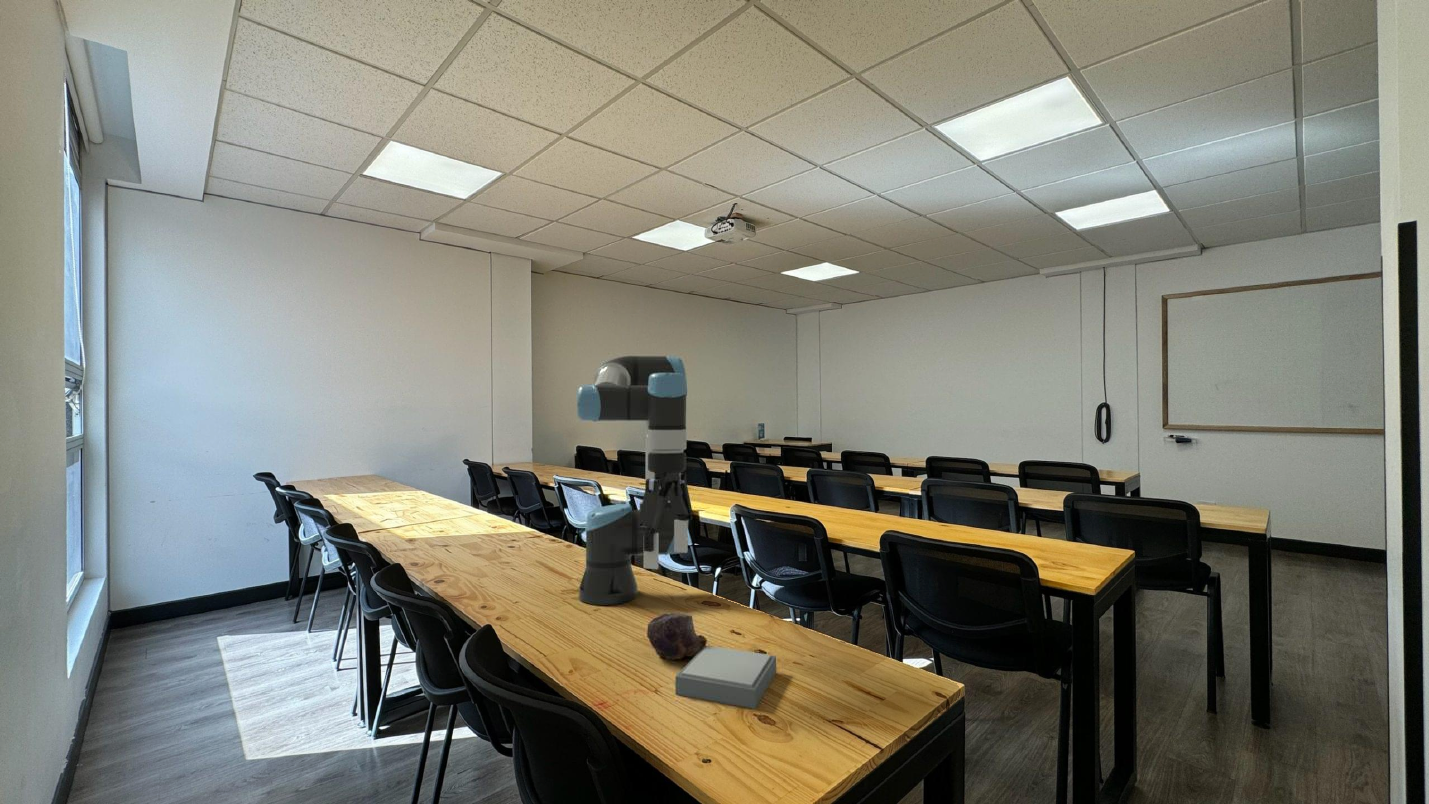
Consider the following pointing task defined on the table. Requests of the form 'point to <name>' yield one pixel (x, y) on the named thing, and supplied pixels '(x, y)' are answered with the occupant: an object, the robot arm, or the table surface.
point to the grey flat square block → (727, 676)
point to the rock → (674, 636)
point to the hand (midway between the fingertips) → (666, 559)
